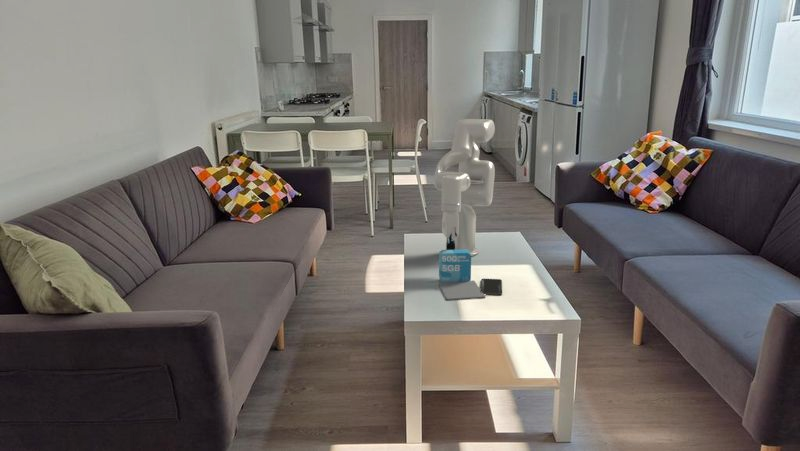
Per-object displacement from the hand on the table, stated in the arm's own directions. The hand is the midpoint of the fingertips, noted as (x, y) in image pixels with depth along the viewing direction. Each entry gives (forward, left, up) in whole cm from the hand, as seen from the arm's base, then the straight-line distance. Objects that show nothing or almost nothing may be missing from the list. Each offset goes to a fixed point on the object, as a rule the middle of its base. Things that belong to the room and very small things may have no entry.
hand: (450, 252), depth 217 cm
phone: (+17, +12, -10) cm, 23 cm away
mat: (+19, 0, -9) cm, 21 cm away
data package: (+8, 0, -10) cm, 12 cm away
